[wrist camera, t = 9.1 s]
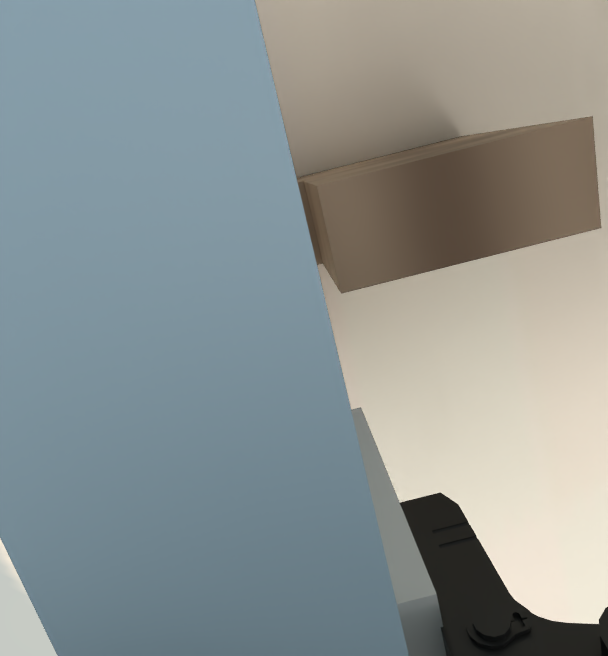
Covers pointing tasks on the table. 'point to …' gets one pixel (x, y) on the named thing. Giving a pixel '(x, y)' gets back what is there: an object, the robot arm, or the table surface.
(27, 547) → the long blue bar
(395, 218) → the slotted beam
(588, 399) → the table surface
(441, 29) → the table surface
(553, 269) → the table surface
